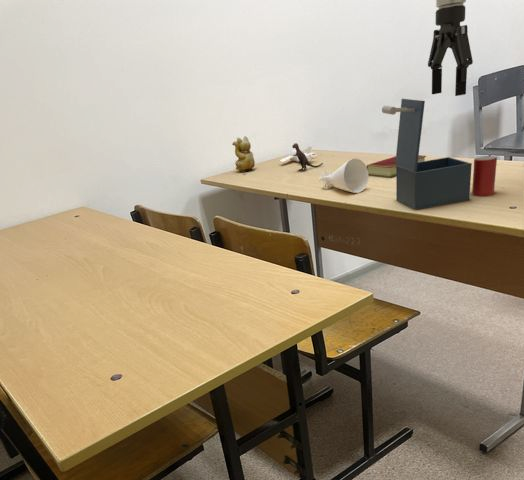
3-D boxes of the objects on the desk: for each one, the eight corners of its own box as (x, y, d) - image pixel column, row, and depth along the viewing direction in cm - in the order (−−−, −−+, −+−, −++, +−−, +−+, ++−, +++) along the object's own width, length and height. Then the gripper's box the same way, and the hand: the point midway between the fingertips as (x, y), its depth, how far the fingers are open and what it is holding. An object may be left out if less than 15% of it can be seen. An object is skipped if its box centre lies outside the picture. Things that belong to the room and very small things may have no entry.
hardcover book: (366, 175, 209) (366, 164, 207) (402, 164, 219) (402, 153, 217) (389, 177, 200) (389, 166, 198) (425, 166, 210) (426, 154, 208)
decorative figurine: (247, 168, 254) (243, 134, 247) (260, 168, 249) (256, 134, 242) (233, 172, 248) (228, 138, 241) (246, 173, 243) (241, 138, 236)
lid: (404, 98, 157) (377, 99, 156) (425, 100, 145) (396, 101, 144) (397, 164, 166) (372, 165, 164) (416, 171, 154) (389, 172, 153)
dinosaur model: (290, 143, 226) (319, 139, 232) (291, 171, 232) (319, 166, 238) (295, 144, 223) (324, 140, 229) (296, 173, 229) (324, 168, 235)
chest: (447, 191, 173) (448, 156, 168) (469, 200, 161) (471, 163, 156) (396, 200, 171) (396, 165, 166) (414, 209, 159) (415, 173, 154)
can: (487, 189, 169) (490, 154, 163) (497, 194, 163) (501, 157, 158) (468, 192, 168) (470, 157, 163) (477, 197, 163) (480, 161, 158)
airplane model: (307, 156, 262) (305, 140, 258) (330, 159, 246) (329, 142, 243) (272, 164, 254) (270, 148, 250) (294, 168, 239) (293, 151, 235)
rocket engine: (317, 160, 196) (350, 151, 181) (339, 175, 203) (372, 168, 188) (307, 188, 196) (339, 182, 181) (329, 203, 202) (362, 198, 187)
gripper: (416, 13, 151) (416, 95, 161) (461, 3, 129) (458, 98, 139) (440, 9, 152) (439, 91, 162) (490, -2, 130) (484, 93, 140)
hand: (448, 94), depth 151 cm, fingers open, 13 cm apart
